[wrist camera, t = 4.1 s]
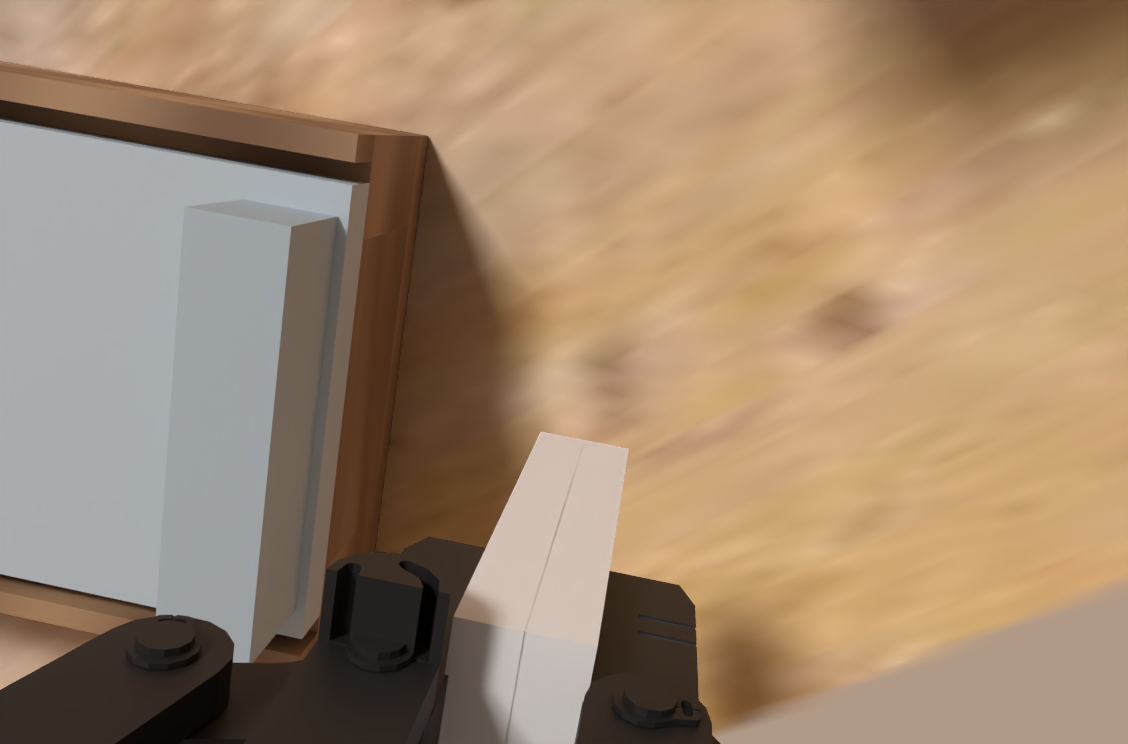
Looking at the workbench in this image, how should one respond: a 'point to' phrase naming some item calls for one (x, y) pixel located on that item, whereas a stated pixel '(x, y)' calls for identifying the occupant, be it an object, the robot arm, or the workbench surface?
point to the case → (379, 302)
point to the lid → (173, 375)
